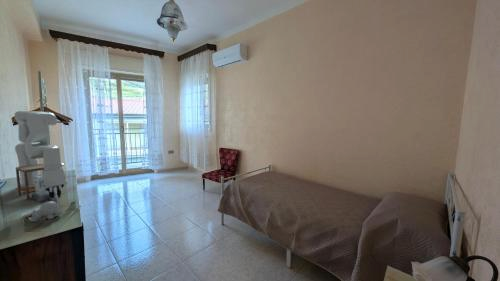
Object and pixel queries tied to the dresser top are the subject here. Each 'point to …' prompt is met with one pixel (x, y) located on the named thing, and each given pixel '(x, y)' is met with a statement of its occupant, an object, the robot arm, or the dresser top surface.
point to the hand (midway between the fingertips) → (55, 196)
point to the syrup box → (39, 186)
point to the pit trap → (31, 189)
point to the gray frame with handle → (45, 197)
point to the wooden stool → (25, 170)
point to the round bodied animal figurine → (46, 211)
